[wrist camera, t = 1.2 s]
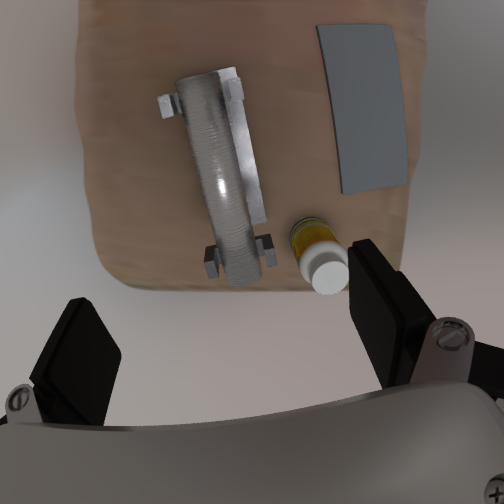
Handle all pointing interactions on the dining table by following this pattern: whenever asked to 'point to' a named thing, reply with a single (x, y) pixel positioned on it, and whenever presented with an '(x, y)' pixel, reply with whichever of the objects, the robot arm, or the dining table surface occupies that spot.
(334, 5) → the dining table surface
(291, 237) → the supplement bottle
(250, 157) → the hook stand
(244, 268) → the grey metallic bar
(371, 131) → the slate mat
